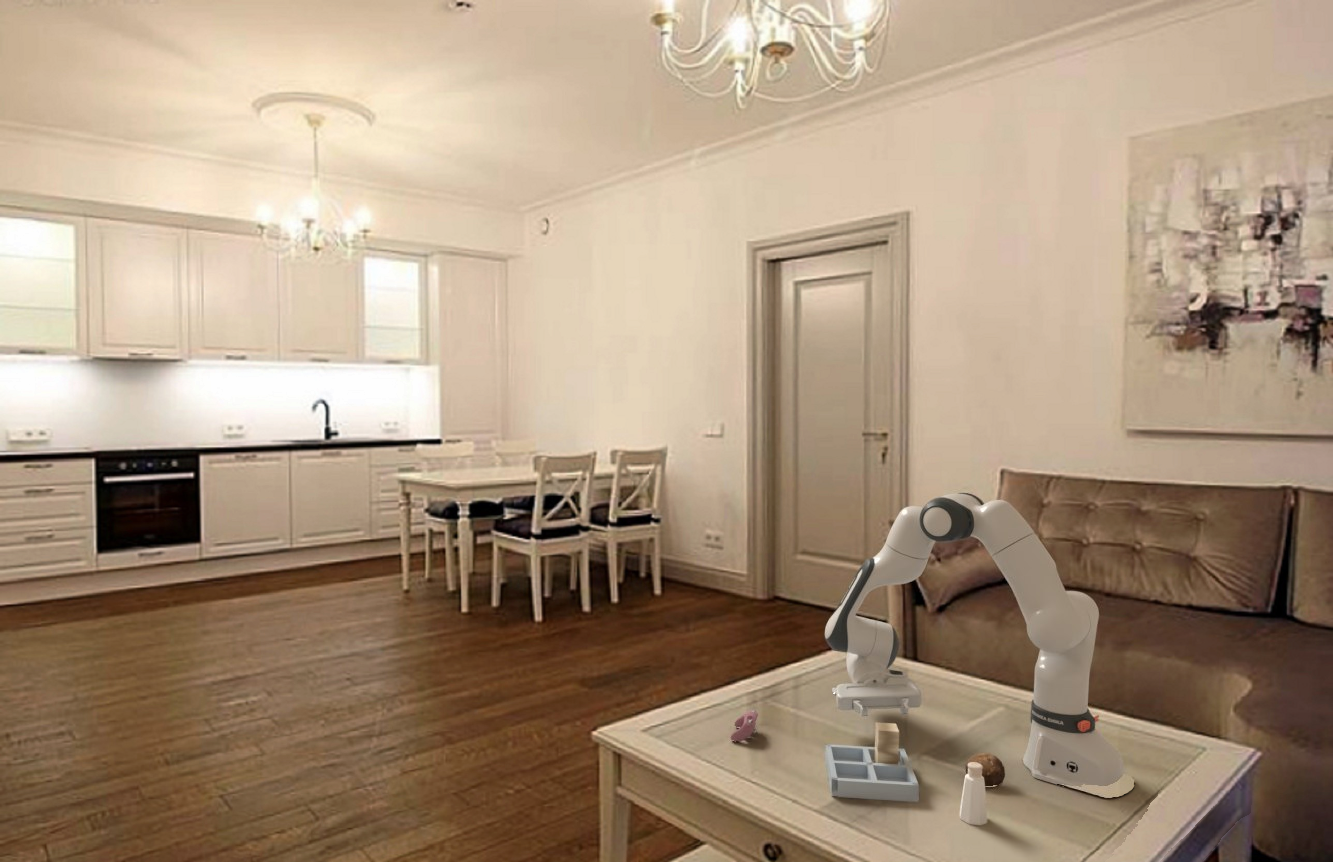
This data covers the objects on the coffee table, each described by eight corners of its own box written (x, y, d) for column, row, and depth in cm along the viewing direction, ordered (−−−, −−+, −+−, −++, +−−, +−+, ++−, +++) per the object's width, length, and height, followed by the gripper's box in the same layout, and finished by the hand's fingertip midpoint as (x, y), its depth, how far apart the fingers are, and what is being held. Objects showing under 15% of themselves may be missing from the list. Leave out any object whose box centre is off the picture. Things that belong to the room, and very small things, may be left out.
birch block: (894, 763, 191) (895, 723, 191) (897, 772, 187) (899, 731, 186) (874, 761, 192) (875, 722, 191) (877, 770, 187) (878, 730, 187)
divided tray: (903, 764, 193) (904, 748, 193) (918, 802, 176) (919, 785, 176) (824, 759, 195) (825, 744, 195) (831, 796, 178) (831, 780, 178)
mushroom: (975, 754, 192) (980, 739, 188) (1008, 777, 187) (1014, 763, 183) (956, 779, 188) (960, 764, 184) (989, 803, 183) (995, 789, 179)
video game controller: (745, 750, 203) (759, 726, 202) (728, 740, 203) (742, 716, 202) (749, 734, 212) (762, 710, 211) (733, 724, 213) (746, 700, 212)
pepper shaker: (978, 811, 173) (981, 757, 172) (993, 824, 167) (995, 770, 167) (953, 812, 172) (955, 759, 171) (967, 826, 167) (969, 771, 166)
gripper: (830, 675, 214) (839, 701, 201) (912, 671, 214) (928, 698, 200) (830, 698, 215) (840, 726, 202) (912, 695, 215) (928, 723, 201)
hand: (884, 712), depth 201 cm, fingers open, 8 cm apart
